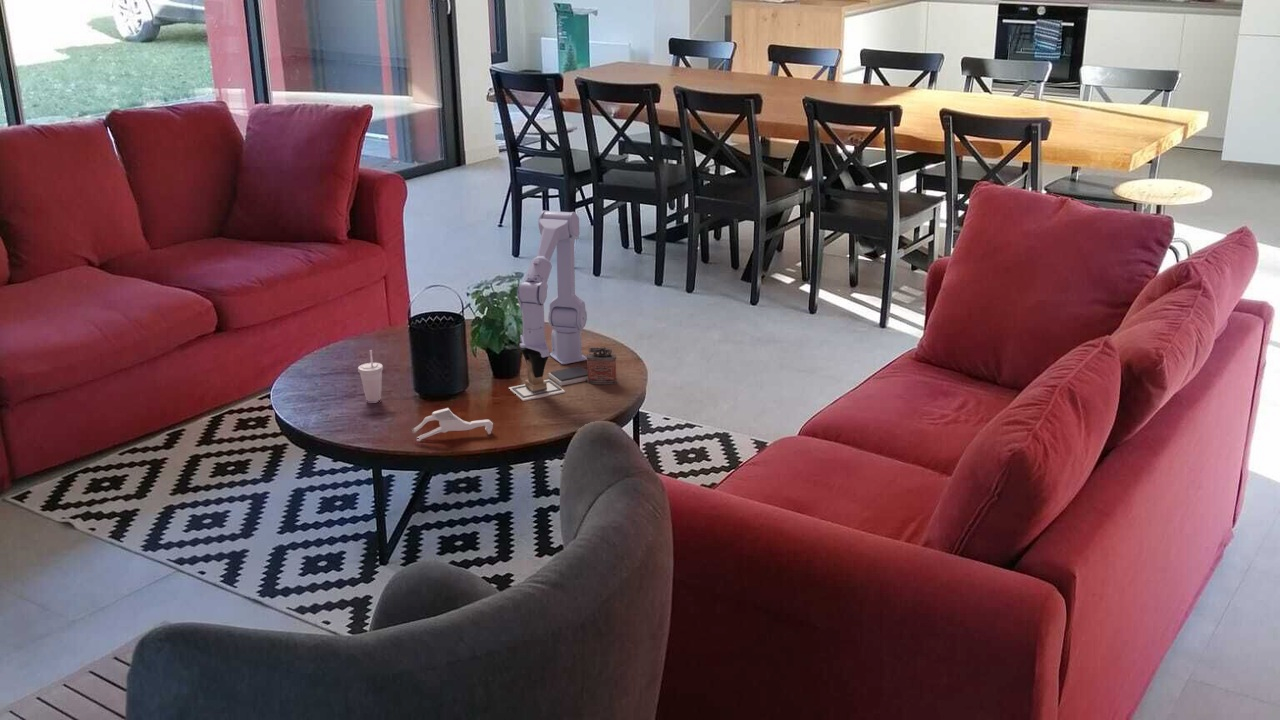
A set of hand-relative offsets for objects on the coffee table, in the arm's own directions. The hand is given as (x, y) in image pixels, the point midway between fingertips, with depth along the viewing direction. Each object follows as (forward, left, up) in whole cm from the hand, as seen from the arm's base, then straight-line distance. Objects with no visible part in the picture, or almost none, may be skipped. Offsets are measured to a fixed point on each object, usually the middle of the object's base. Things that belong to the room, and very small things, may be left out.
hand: (535, 374), depth 327 cm
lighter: (+3, +18, -5) cm, 19 cm away
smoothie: (-15, -40, -5) cm, 43 cm away
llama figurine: (+17, -30, -5) cm, 35 cm away
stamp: (0, 0, -4) cm, 4 cm away
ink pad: (-4, +12, -4) cm, 13 cm away
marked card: (0, 0, -4) cm, 4 cm away
